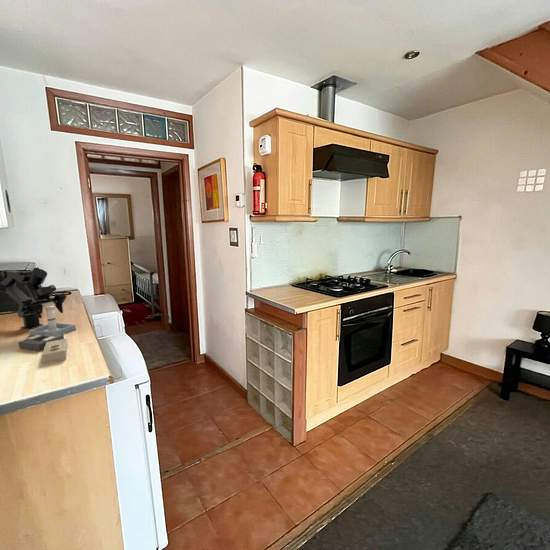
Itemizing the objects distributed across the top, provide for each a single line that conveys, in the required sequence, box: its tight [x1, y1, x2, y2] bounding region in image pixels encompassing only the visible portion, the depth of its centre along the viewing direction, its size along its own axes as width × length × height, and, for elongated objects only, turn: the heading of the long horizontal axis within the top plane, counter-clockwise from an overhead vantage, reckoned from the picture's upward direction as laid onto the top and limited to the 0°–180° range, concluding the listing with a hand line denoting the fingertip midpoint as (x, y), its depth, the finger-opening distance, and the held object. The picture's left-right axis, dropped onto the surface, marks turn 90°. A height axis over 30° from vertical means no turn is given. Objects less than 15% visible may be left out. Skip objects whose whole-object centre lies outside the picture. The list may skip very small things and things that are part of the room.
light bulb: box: [44, 304, 58, 332], centre depth 144 cm, size 4×4×12 cm
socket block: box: [18, 333, 65, 352], centre depth 129 cm, size 11×11×3 cm
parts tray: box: [28, 322, 77, 337], centre depth 145 cm, size 14×12×2 cm
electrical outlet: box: [41, 338, 69, 365], centre depth 120 cm, size 7×4×18 cm
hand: (52, 315), depth 143 cm, fingers open, 9 cm apart
